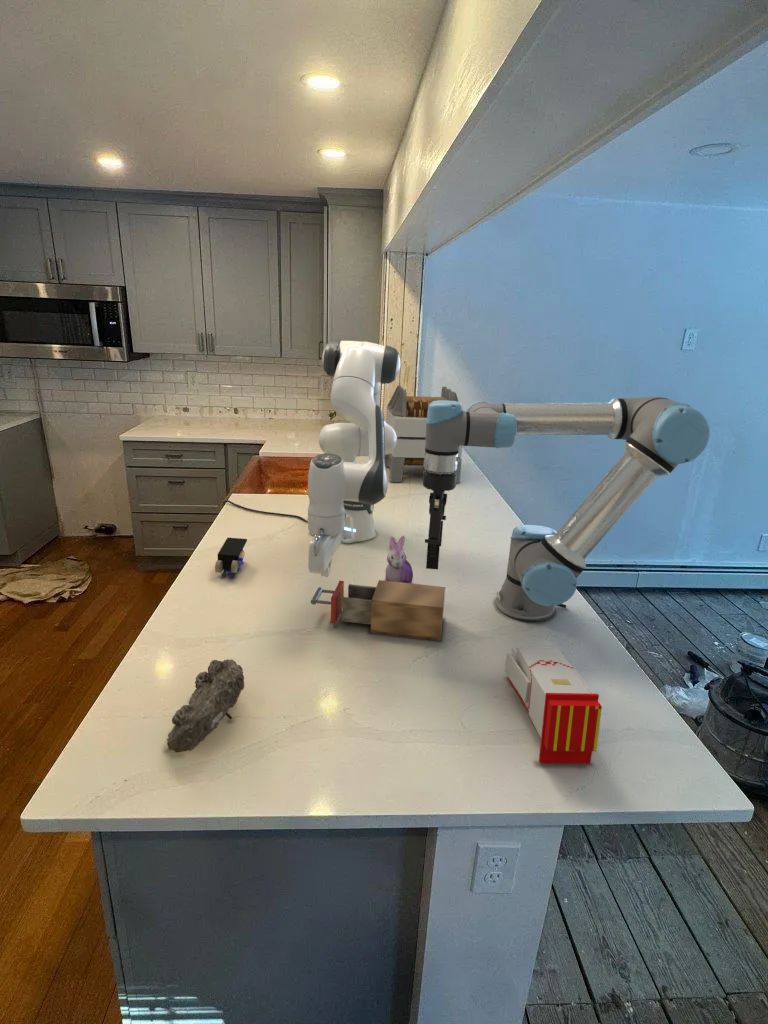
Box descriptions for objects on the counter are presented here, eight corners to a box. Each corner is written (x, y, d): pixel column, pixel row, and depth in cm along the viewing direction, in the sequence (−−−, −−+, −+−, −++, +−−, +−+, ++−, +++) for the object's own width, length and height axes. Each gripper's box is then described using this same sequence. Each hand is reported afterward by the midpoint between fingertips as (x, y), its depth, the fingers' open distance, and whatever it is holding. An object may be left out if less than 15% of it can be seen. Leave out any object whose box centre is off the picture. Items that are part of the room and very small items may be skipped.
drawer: (309, 620, 141) (309, 595, 138) (319, 602, 150) (319, 578, 147) (393, 630, 138) (395, 604, 136) (398, 611, 147) (400, 586, 144)
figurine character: (238, 584, 162) (249, 557, 175) (236, 562, 158) (247, 536, 172) (215, 584, 161) (227, 556, 175) (212, 561, 158) (225, 535, 171)
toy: (554, 629, 125) (611, 701, 96) (548, 684, 128) (602, 772, 98) (500, 628, 125) (540, 700, 95) (495, 684, 127) (533, 771, 98)
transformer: (382, 463, 289) (386, 382, 275) (445, 464, 293) (451, 384, 279) (390, 482, 257) (394, 392, 243) (460, 483, 261) (468, 394, 247)
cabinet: (370, 632, 138) (371, 599, 135) (377, 611, 148) (378, 579, 145) (440, 641, 136) (443, 607, 133) (442, 618, 146) (445, 586, 143)
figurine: (391, 596, 156) (394, 546, 151) (375, 580, 164) (377, 533, 159) (421, 590, 160) (424, 541, 155) (403, 575, 169) (406, 528, 163)
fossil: (192, 660, 117) (244, 628, 112) (224, 691, 120) (276, 661, 115) (142, 746, 98) (202, 712, 93) (182, 779, 101) (242, 748, 96)
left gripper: (328, 539, 126) (328, 594, 131) (347, 509, 145) (346, 559, 150) (301, 537, 127) (301, 592, 132) (323, 507, 146) (323, 556, 151)
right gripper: (455, 487, 116) (447, 581, 123) (458, 458, 139) (451, 538, 146) (418, 484, 117) (413, 577, 124) (427, 456, 140) (422, 535, 147)
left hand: (325, 574), depth 141 cm, fingers closed
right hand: (433, 556), depth 135 cm, fingers open, 13 cm apart
